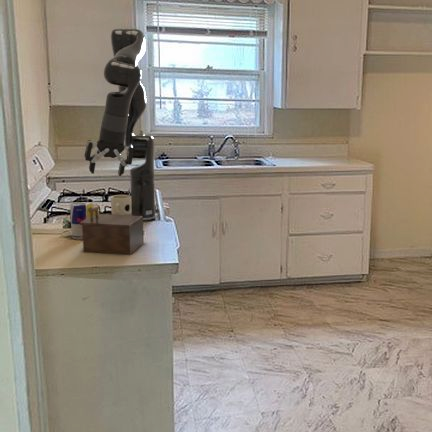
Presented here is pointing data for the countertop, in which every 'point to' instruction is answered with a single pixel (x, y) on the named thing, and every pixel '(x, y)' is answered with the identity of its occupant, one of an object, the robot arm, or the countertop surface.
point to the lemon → (88, 211)
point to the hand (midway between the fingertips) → (105, 173)
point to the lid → (109, 219)
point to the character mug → (121, 204)
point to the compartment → (112, 238)
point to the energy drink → (77, 219)
